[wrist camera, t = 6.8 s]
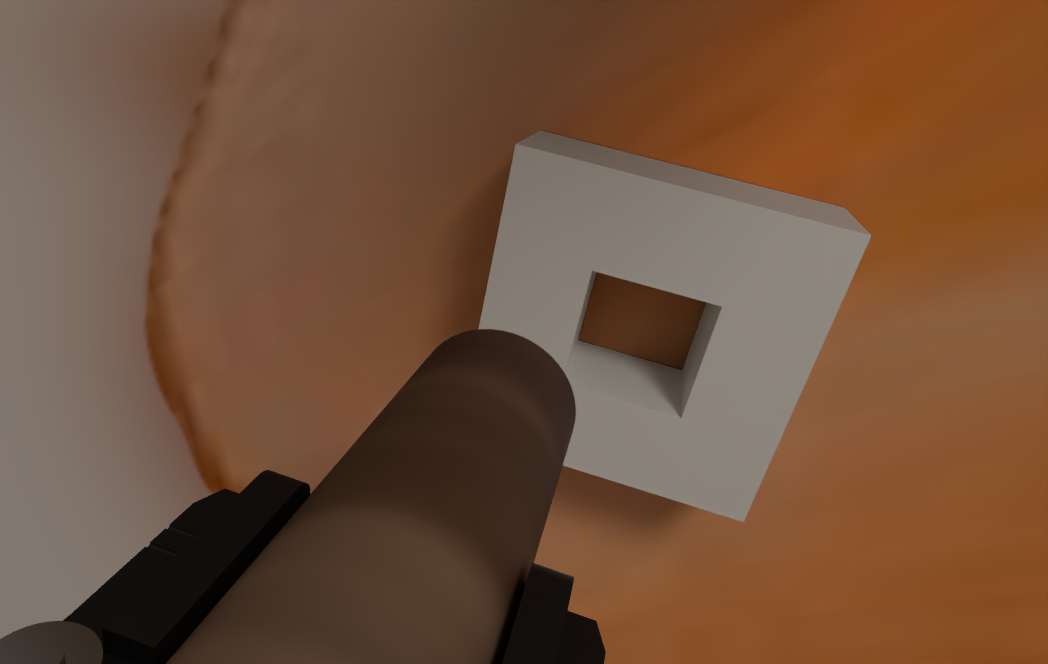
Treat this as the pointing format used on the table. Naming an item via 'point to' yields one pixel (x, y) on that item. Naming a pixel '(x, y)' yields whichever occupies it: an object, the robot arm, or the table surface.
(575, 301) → the block
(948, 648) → the table surface
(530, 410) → the walnut peg
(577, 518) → the table surface
